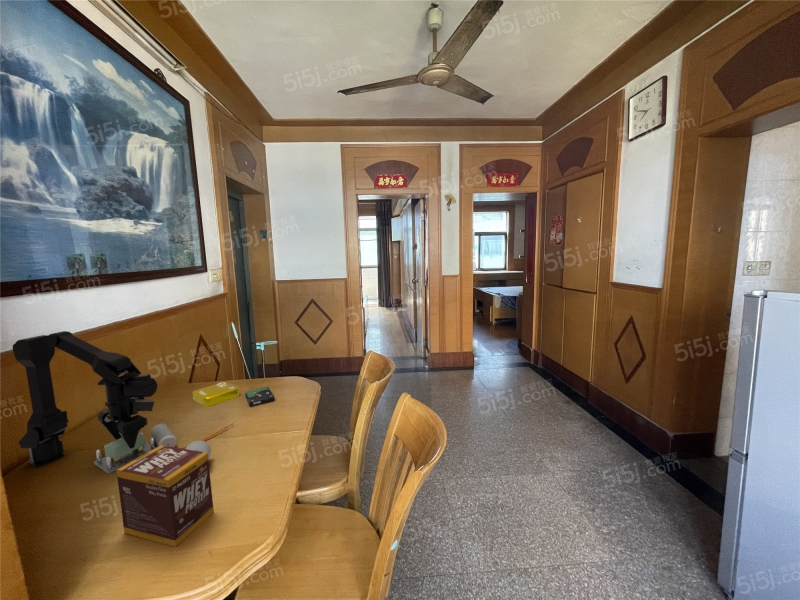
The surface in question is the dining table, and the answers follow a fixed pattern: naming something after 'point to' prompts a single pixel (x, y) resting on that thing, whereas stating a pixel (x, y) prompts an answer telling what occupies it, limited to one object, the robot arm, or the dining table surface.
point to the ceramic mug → (200, 447)
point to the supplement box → (165, 494)
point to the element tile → (215, 394)
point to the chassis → (122, 458)
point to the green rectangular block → (122, 446)
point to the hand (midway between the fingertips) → (125, 444)
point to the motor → (170, 435)
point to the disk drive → (259, 396)
